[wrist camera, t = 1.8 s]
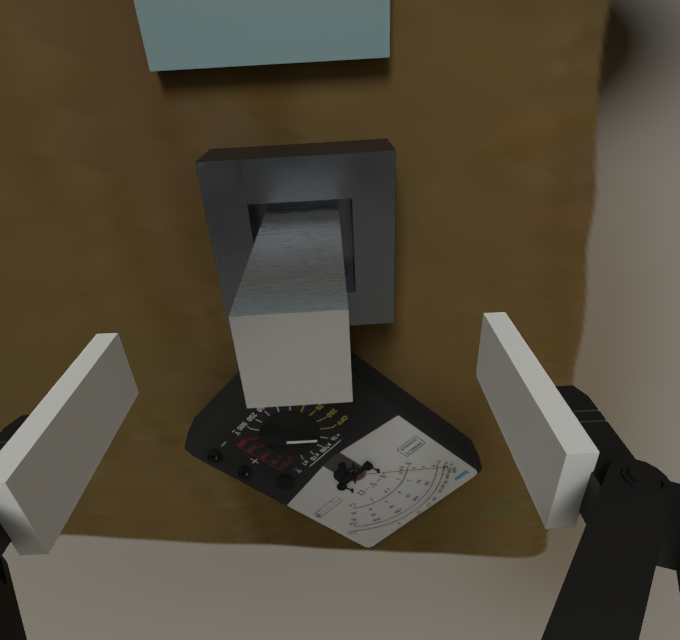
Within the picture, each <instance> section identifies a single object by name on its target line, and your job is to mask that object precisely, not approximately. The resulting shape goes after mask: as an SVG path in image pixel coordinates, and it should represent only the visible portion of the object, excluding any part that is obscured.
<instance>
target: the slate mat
mask: <svg viewBox="0 0 680 640" xmlns="http://www.w3.org/2000/svg"><path fill="white" fill-rule="evenodd" d="M134 4H135V8H136V13H137V17H138V21H139V26H140V30H141V34H142V39H143V43H144V47H145V52H146V56H147V60H148V65H149V69H150V71H166V70H183V69H200V68H217V67H234V66H251V65H268V64H285V63H302V62H319V61H336V60H353V59H370V58H386V57H390V0H134Z"/></svg>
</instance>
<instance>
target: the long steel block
mask: <svg viewBox="0 0 680 640" xmlns="http://www.w3.org/2000/svg"><path fill="white" fill-rule="evenodd" d="M229 322H230V327H231V332H232V337H233V342H234V347H235V351H236V356H237V361H238V366H239V371H240V376H241V381H242V386H243V391H244V396H245V401H246V406H247V408H262V407H278V406H294V405H311V404H327V403H344V402H353V395H352V374H351V352H350V331H349V310H348V300H347V290H346V280H345V270H344V260H343V250H342V240H341V230H340V220H339V210H338V200H327V201H311V202H294V203H277V204H268V206H267V209H266V212H265V215H264V218H263V220H262V223H261V226H260V229H259V232H258V235H257V237H256V240H255V243H254V246H253V249H252V252H251V254H250V257H249V260H248V263H247V266H246V269H245V271H244V274H243V277H242V280H241V283H240V286H239V288H238V291H237V294H236V297H235V300H234V303H233V305H232V308H231V311H230V314H229Z"/></svg>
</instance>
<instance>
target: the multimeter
mask: <svg viewBox="0 0 680 640" xmlns="http://www.w3.org/2000/svg"><path fill="white" fill-rule="evenodd" d="M350 352H351V351H350ZM351 374H352V395H353V402H344V403H327V404H311V405H294V406H278V407H262V408H247V406H246V401H245V396H244V391H243V386H242V381H241V376H240V371H239V372H238V373H237V374H236V375H235V376H234V377H233V378H232V379H231V381H230V382H229V383H228V384H227V385H226V386H225V387H224V388H223V389H222V390H221V391H220V392H219V393H218V394H217V395H216V396H215V397H214V398H213V399H212V400H211V401H210V402H209V403H208V404H207V405H206V406H205V407H204V409H203V410H202V411H201V412H200V413H199V414H198V415H197V416H196V417H195V418H194V420H193V423H192V425H191V427H190V429H189V431H188V434H187V439H186V443H185V449H186V450H187V451H188V452H189V453H190V454H191V455H192V456H194V457H196V458H198V459H200V460H202V461H204V462H205V463H207V464H209V465H211V466H213V467H215V468H217V469H219V470H220V471H222V472H224V473H226V474H228V475H230V476H232V477H234V478H236V479H237V480H239V481H241V482H243V483H245V484H247V485H249V486H251V487H253V488H254V489H256V490H258V491H260V492H262V493H264V494H266V495H268V496H269V497H271V498H273V499H275V500H277V501H279V502H281V503H283V504H285V505H286V506H288V507H290V508H292V509H294V510H296V511H298V512H300V513H301V514H303V515H305V516H307V517H309V518H311V519H313V520H315V521H317V522H318V523H320V524H322V525H324V526H326V527H328V528H330V529H332V530H334V531H335V532H337V533H339V534H341V535H343V536H345V537H347V538H349V539H350V540H352V541H354V542H356V543H358V544H360V545H362V546H364V547H367V548H370V547H372V546H374V545H376V544H377V543H379V542H380V541H381V540H383V539H384V538H386V537H387V536H389V535H390V534H392V533H393V532H395V531H396V530H397V529H399V528H400V527H402V526H403V525H405V524H406V523H408V522H409V521H411V520H412V519H414V518H415V517H416V516H418V515H419V514H421V513H422V512H424V511H425V510H427V509H428V508H430V507H431V506H432V505H434V504H435V503H437V502H438V501H440V500H441V499H443V498H444V497H446V496H447V495H449V494H450V493H451V492H453V491H454V490H456V489H457V488H459V487H460V486H462V485H463V484H465V483H466V482H467V481H469V480H470V479H472V478H473V477H475V476H476V475H477V474H478V473H479V472H480V471H481V470H482V466H481V462H480V459H479V455H478V453H477V451H476V449H475V447H474V445H473V443H472V441H471V440H470V438H468V437H467V436H465V435H464V434H463V433H461V432H460V431H459V430H457V429H456V428H455V427H453V426H452V425H450V424H449V423H448V422H446V421H445V420H444V419H442V418H441V417H440V416H438V415H437V414H435V413H434V412H433V411H431V410H430V409H429V408H427V407H426V406H425V405H423V404H422V403H420V402H419V401H418V400H416V399H415V398H414V397H412V396H411V395H410V394H408V393H407V392H405V391H404V390H403V389H401V388H400V387H399V386H397V385H396V384H395V383H393V382H392V381H390V380H389V379H388V378H386V377H385V376H384V375H382V374H381V373H380V372H378V371H377V370H375V369H374V368H373V367H371V366H370V365H369V364H367V363H366V362H365V361H363V360H362V359H360V358H359V357H358V356H356V355H355V354H354V353H352V352H351Z"/></svg>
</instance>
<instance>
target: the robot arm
mask: <svg viewBox="0 0 680 640" xmlns="http://www.w3.org/2000/svg"><path fill="white" fill-rule="evenodd" d="M476 376H477V379H478V381H479V383H480V385H481V387H482V390H483V392H484V394H485V396H486V398H487V401H488V403H489V405H490V407H491V409H492V412H493V414H494V416H495V418H496V421H497V423H498V425H499V427H500V429H501V432H502V434H503V436H504V438H505V440H506V443H507V445H508V447H509V449H510V451H511V454H512V456H513V458H514V460H515V462H516V465H517V467H518V469H519V471H520V473H521V476H522V478H523V480H524V482H525V485H526V487H527V489H528V491H529V493H530V496H531V498H532V500H533V502H534V504H535V507H536V509H537V511H538V513H539V515H540V518H541V520H542V522H543V524H544V526H545V529H557V528H574V527H575V526H576V522H577V520H578V517H579V514H581V515H582V517H583V519H584V521H585V523H586V527H585V530H584V532H583V534H582V537H581V539H580V542H579V545H578V547H577V550H576V552H575V555H574V557H573V560H572V562H571V565H570V568H569V570H568V573H567V576H566V578H565V580H564V583H563V585H562V588H561V591H560V593H559V596H558V598H557V601H556V603H555V606H554V608H553V611H552V613H551V616H550V618H549V621H548V624H547V626H546V629H545V631H544V634H543V636H542V639H541V640H639V636H640V632H641V627H642V623H643V619H644V614H645V610H646V606H647V602H648V597H649V593H650V589H651V585H652V580H653V576H654V571H655V567H656V566H660V567H664V568H668V569H672V570H676V571H677V578H678V585H679V591H680V484H679V483H675V482H671V481H669V480H668V478H667V477H666V475H664V474H663V473H662V472H661V471H660V470H659V469H657V468H656V467H654V466H652V465H650V464H648V463H646V462H643V461H640V460H636V459H635V458H634V456H633V455H632V454H631V452H630V451H629V450H628V448H627V447H626V446H625V444H624V443H623V442H622V440H621V439H620V438H619V436H618V435H617V434H616V433H615V431H614V430H613V428H612V427H611V426H610V424H609V423H608V422H606V420H605V418H604V416H603V415H602V414H601V412H600V411H598V408H597V407H596V406H595V404H594V403H593V402H592V400H591V399H590V398H589V397H588V396H587V395H586V394H584V393H583V392H582V391H580V390H579V389H577V388H576V387H575V386H555V385H554V384H553V382H552V381H551V379H550V378H549V376H548V375H547V373H546V372H545V370H544V369H543V368H542V366H541V365H540V363H539V362H538V360H537V359H536V357H535V356H534V354H533V353H532V351H531V350H530V348H529V347H528V345H527V344H526V342H525V341H524V339H523V338H522V336H521V335H520V333H519V332H518V331H517V329H516V328H515V326H514V325H513V323H512V322H511V320H510V319H509V317H508V316H507V314H506V313H505V312H497V313H484V314H483V322H482V330H481V338H480V346H479V354H478V362H477V370H476ZM138 393H139V392H138V389H137V386H136V383H135V381H134V378H133V375H132V372H131V369H130V366H129V363H128V360H127V358H126V355H125V352H124V349H123V346H122V343H121V340H120V338H119V335H118V333H107V334H96V336H95V337H94V338H93V339H92V340H91V342H90V343H89V344H88V345H87V346H86V348H85V349H84V350H83V351H82V352H81V354H80V355H79V356H78V357H77V359H76V360H75V361H74V362H73V363H72V365H71V366H70V367H69V368H68V369H67V371H66V372H65V373H64V374H63V376H62V377H61V378H60V379H59V380H58V382H57V383H56V384H55V385H54V386H53V388H52V389H51V390H50V391H49V392H48V394H47V395H46V396H45V397H44V399H43V400H42V401H41V402H40V403H39V405H38V406H37V407H36V408H35V409H34V411H33V412H32V413H31V414H30V415H22V416H20V417H19V418H18V419H16V420H15V421H13V422H12V423H11V424H9V425H8V426H7V427H5V428H4V429H3V430H2V432H1V433H0V640H27V639H26V635H25V631H24V627H23V623H22V619H21V615H20V611H19V607H18V603H17V600H16V595H15V591H14V588H13V583H12V580H11V576H10V572H9V568H8V564H7V562H6V560H5V559H4V558H3V556H2V554H3V553H4V551H5V550H6V548H7V546H8V545H9V543H10V542H12V544H13V545H14V547H15V548H16V550H17V551H18V553H19V554H20V555H35V554H49V552H50V551H51V549H52V547H53V545H54V544H55V542H56V540H57V538H58V536H59V535H60V533H61V531H62V529H63V527H64V526H65V524H66V522H67V520H68V519H69V517H70V515H71V513H72V511H73V510H74V508H75V506H76V504H77V502H78V501H79V499H80V497H81V495H82V493H83V492H84V490H85V488H86V486H87V485H88V483H89V481H90V479H91V477H92V476H93V474H94V472H95V470H96V468H97V467H98V465H99V463H100V461H101V460H102V458H103V456H104V454H105V452H106V451H107V449H108V447H109V445H110V443H111V442H112V440H113V438H114V436H115V435H116V433H117V431H118V429H119V427H120V426H121V424H122V422H123V420H124V418H125V417H126V415H127V413H128V411H129V409H130V408H131V406H132V404H133V402H134V401H135V399H136V397H137V395H138Z"/></svg>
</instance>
